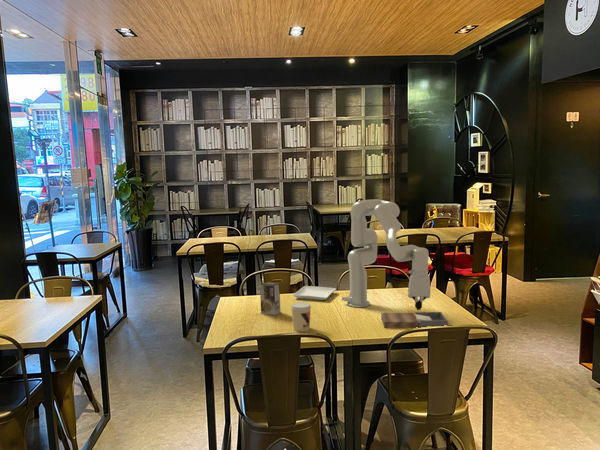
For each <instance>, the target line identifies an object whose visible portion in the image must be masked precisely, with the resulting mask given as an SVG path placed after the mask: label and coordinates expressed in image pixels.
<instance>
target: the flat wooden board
mask: <svg viewBox="0 0 600 450" xmlns="http://www.w3.org/2000/svg"><path fill="white" fill-rule="evenodd" d="M380 315H381V317H380V318H381V319H380V320H381V322H382V324H383V329H417V328H416V327H418V321H417V319H416V317H415V314H414V313H413V312H381V314H380ZM418 328H419V327H418Z"/></svg>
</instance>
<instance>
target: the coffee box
mask: <svg viewBox="0 0 600 450" xmlns="http://www.w3.org/2000/svg"><path fill="white" fill-rule="evenodd" d="M280 287H281V284H280V282H269V281H267V282H262V283H261V284H259V292H260V293H259V294H260V295H259V297H260V298H259V300H260V313H261V315H268V316H269V315H270V316H277V315H278V314H280V313H281V293H280V292H281V291H280V290H281V289H280Z"/></svg>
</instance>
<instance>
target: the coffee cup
mask: <svg viewBox="0 0 600 450" xmlns="http://www.w3.org/2000/svg"><path fill="white" fill-rule="evenodd" d="M311 307H312V306H311V304H310V303H308V302H304V301H303V302H302V301H301V302H295V303H292V305H291V315H292V317H291V318H292V327H293V330H294V331H295V332H300V331H303V332H308V331H309V330H310V329H311V328H310V324H311Z"/></svg>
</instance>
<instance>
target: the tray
mask: <svg viewBox="0 0 600 450" xmlns="http://www.w3.org/2000/svg"><path fill="white" fill-rule="evenodd" d="M414 313H415V314H414V316H415V315H416V314H417V315H423V316H429V317H430V318H431V320H420V323H418V328H419V327H427V326H444V325H448V324H449V320H448V319H447V318H446V317H445V315H444V314H443V312H442V311H415V312H414ZM448 326H449V325H448Z"/></svg>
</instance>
